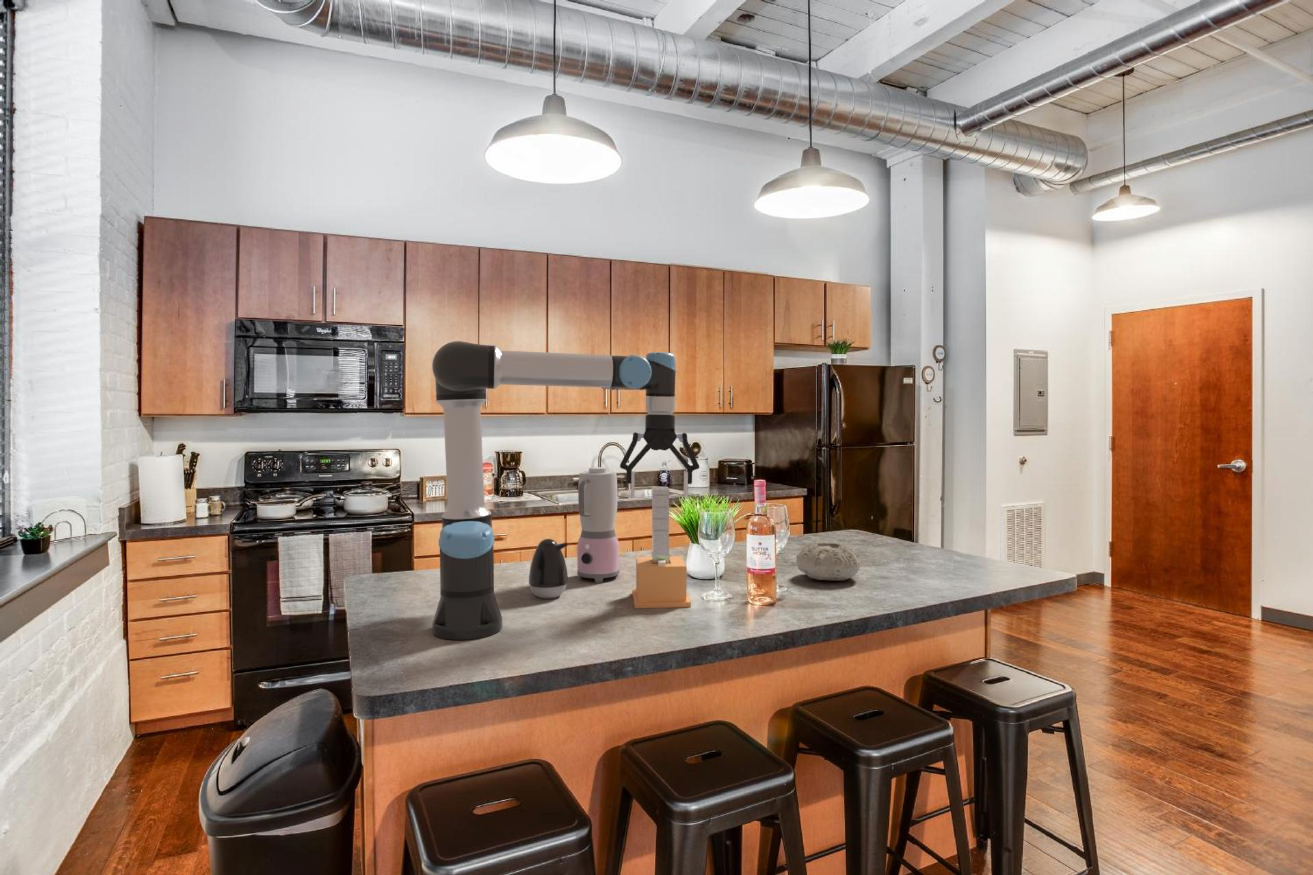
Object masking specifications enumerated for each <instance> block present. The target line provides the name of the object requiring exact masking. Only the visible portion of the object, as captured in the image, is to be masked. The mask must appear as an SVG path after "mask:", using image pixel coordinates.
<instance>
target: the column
mask: <svg viewBox="0 0 1313 875" xmlns="http://www.w3.org/2000/svg"><path fill="white" fill-rule="evenodd" d="M651 493H652V494H651V500H652V501H651V506H652V508H651V511H652V512H651V515H652V516H651V517H652V518H651V522H652V523H651V524H652V525H651V529H652V530H651V531H652V532H651V541H652V542H651V544H652V546H651V548H652V549H651V553H650V555H651V556H650V557H652V564H658V560H665V561H666V564H669V560H670V556H671V555H670V488H669V487H668V486H651Z"/></svg>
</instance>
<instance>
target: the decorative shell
mask: <svg viewBox="0 0 1313 875" xmlns="http://www.w3.org/2000/svg"><path fill="white" fill-rule="evenodd" d="M796 566H797V569H798V570H799V571H800V572H801V573H803V574H805V576H807V577H809V579H815V580H818V581H829V582H831V581H832V582H841V581H846V580H849V579H851V578H853V577H854V576H856V575H857V574H858V572H859V571H860V568H861V567H860V566H861V563H860V559H859V555H858V554H857V553H856V552H855V551H854V550H853V549H852V548H850V547H848V546H847V545H845V544H844V543H843V544H842V543H840V542H824V541H823V542H820V541H819V542H815V543H809V545H807V546H805V547H804V548H802V549H801V550H800V552H799V553H798V554H796Z"/></svg>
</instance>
